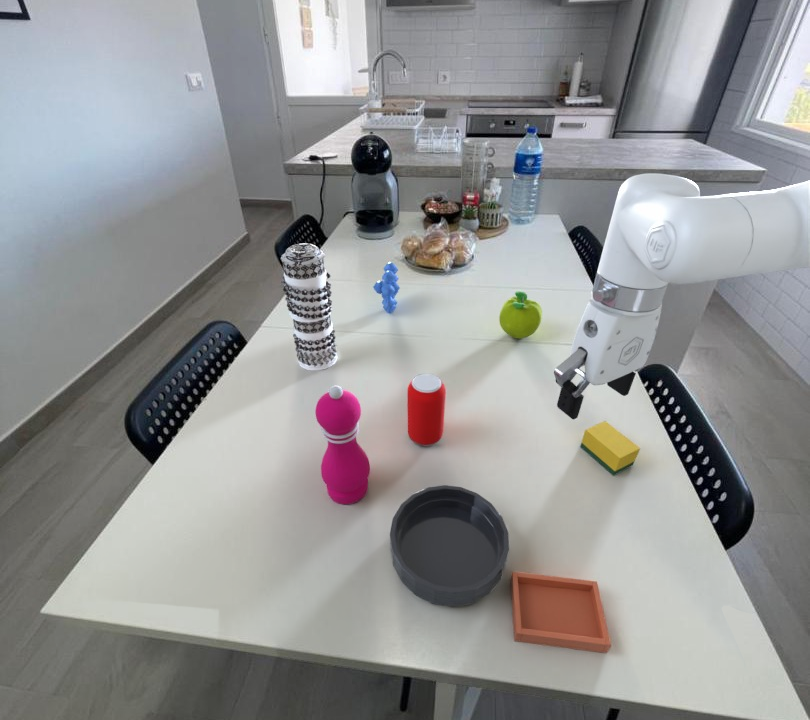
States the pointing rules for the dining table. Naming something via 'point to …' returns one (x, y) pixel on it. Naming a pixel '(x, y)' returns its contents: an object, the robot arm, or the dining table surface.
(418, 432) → the beverage can
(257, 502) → the dining table surface
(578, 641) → the soap dish
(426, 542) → the pan
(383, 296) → the grapes
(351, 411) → the pepper mill
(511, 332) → the fruit
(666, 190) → the robot arm
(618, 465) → the sponge
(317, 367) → the decorative candle
